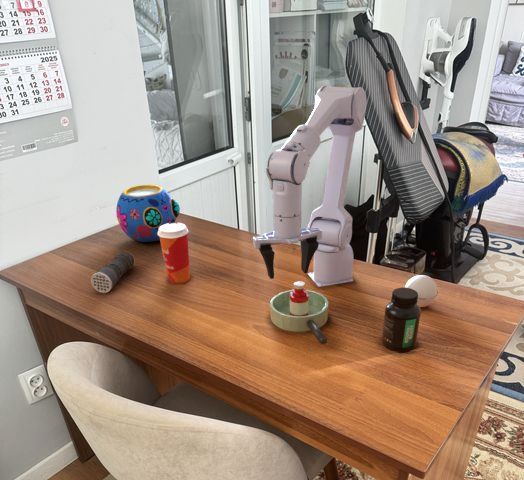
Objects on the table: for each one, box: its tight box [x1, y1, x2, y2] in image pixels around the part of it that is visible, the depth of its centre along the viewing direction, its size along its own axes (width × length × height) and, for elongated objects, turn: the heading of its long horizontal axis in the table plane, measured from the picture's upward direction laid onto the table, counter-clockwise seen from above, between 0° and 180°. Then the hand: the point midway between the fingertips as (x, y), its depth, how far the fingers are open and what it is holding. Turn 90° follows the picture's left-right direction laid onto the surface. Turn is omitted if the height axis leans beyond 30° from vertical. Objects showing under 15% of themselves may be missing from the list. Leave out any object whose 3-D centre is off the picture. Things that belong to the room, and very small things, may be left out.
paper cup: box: [157, 222, 191, 284], centre depth 132 cm, size 8×8×14 cm
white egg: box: [404, 274, 449, 308], centre depth 117 cm, size 10×7×7 cm
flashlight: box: [90, 250, 135, 294], centre depth 135 cm, size 15×5×5 cm, turn 168°
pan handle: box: [307, 320, 328, 345], centre depth 107 cm, size 9×2×2 cm, turn 17°
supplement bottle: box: [381, 286, 422, 354], centre depth 103 cm, size 7×7×12 cm
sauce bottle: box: [290, 280, 309, 316], centre depth 114 cm, size 4×4×8 cm
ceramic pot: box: [115, 184, 181, 243], centre depth 155 cm, size 18×18×15 cm
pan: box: [269, 289, 330, 333], centre depth 115 cm, size 13×13×4 cm
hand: (287, 274), depth 112 cm, fingers open, 7 cm apart
